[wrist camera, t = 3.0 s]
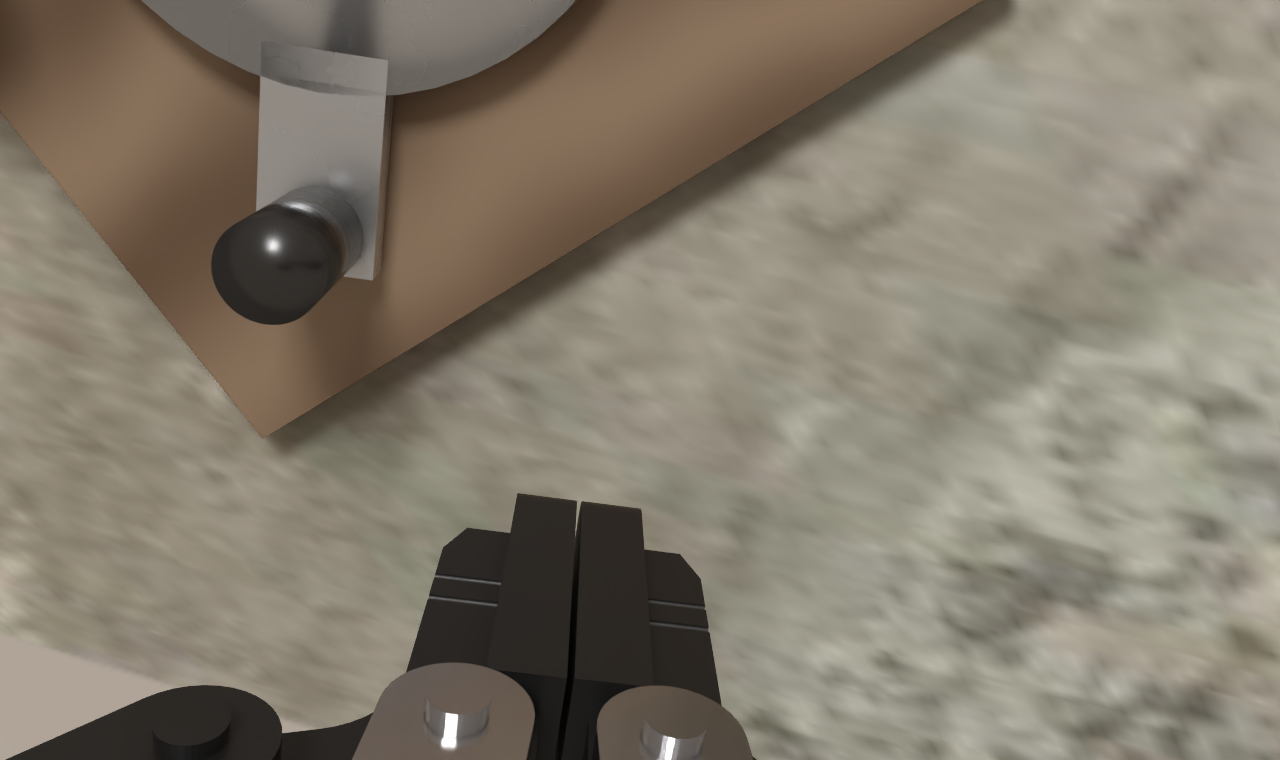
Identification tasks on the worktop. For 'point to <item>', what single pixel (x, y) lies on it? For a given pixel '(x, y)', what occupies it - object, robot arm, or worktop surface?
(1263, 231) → the worktop surface
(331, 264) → the pot lid with knob
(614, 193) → the walnut board
